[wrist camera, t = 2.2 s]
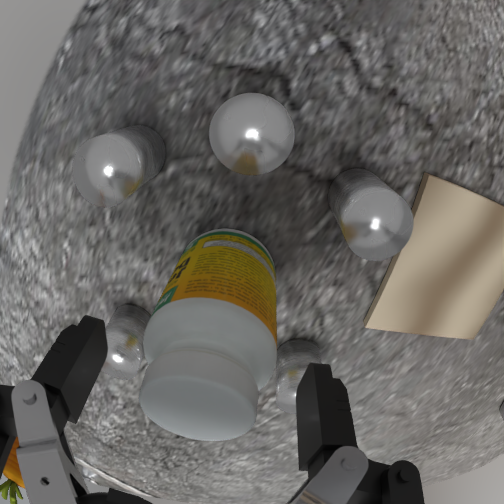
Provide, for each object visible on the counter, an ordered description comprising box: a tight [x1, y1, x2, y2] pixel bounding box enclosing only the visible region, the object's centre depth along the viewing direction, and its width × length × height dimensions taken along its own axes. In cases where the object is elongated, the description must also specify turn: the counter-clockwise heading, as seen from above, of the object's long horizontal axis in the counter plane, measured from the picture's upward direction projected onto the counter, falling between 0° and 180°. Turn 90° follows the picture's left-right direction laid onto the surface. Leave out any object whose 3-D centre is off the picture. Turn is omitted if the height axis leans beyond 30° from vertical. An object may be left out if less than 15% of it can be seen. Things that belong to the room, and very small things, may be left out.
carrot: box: [0, 437, 25, 504], centre depth 24 cm, size 5×5×15 cm
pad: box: [363, 172, 504, 340], centre depth 17 cm, size 10×10×1 cm
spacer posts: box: [72, 93, 414, 414], centre depth 16 cm, size 14×19×4 cm
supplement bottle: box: [139, 228, 277, 441], centre depth 14 cm, size 5×5×10 cm
